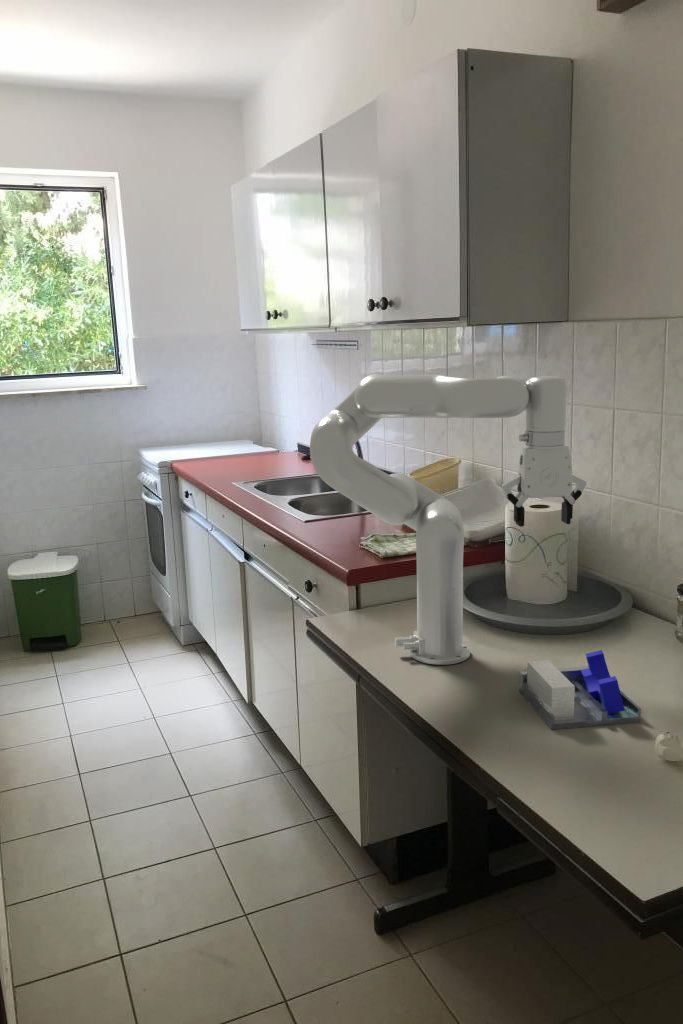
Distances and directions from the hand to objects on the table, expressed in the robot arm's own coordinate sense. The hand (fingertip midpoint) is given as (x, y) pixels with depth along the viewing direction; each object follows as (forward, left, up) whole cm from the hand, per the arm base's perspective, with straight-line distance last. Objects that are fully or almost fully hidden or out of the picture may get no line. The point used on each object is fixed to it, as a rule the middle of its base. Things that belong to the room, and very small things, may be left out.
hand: (542, 524), depth 169 cm
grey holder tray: (-2, -24, -28) cm, 37 cm away
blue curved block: (+3, -25, -27) cm, 37 cm away
